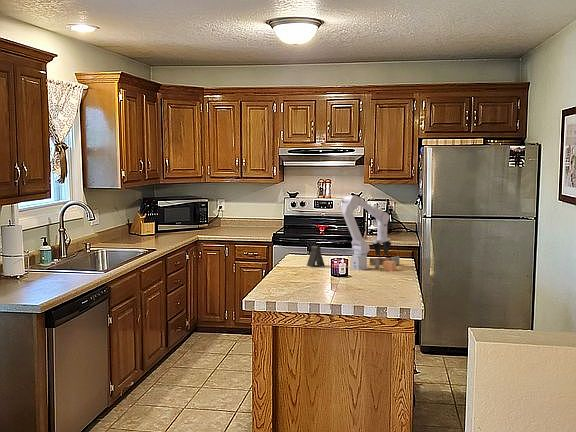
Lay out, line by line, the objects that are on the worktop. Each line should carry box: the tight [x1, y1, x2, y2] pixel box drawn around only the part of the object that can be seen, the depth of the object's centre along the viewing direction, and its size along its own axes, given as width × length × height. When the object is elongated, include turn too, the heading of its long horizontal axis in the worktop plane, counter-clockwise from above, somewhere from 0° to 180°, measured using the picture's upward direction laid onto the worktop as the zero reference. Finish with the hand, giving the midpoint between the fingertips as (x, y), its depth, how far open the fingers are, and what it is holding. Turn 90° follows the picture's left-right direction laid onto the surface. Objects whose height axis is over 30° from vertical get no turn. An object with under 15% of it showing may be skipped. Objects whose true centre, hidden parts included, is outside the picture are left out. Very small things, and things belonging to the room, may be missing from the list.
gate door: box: [369, 257, 392, 266], centre depth 375 cm, size 14×1×4 cm, turn 95°
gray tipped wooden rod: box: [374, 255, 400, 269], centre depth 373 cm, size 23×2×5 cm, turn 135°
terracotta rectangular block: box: [382, 261, 397, 272], centre depth 359 cm, size 4×6×5 cm, turn 45°
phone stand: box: [306, 245, 326, 268], centre depth 372 cm, size 9×6×12 cm, turn 120°
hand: (381, 254), depth 371 cm, fingers open, 7 cm apart
